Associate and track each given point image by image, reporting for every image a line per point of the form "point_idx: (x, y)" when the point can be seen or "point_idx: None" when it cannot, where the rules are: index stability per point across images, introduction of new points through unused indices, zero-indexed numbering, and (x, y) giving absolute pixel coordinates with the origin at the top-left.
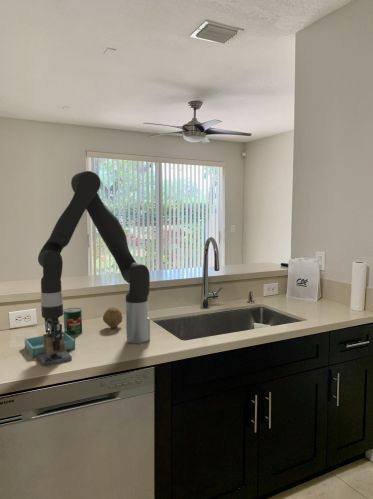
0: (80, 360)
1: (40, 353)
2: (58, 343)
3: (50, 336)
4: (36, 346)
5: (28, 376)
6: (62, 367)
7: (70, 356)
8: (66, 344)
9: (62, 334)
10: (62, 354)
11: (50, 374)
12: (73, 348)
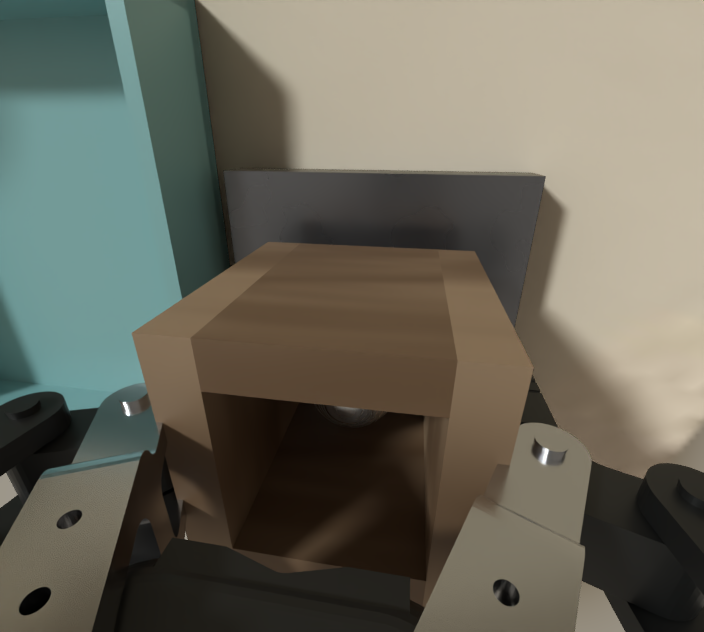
0: (623, 81)
1: None
2: (547, 421)
3: (243, 462)
4: (23, 328)
5: None
6: (634, 315)
7: (541, 192)
8: (166, 113)
9: (418, 365)
10: (406, 244)
11: (686, 434)
12: (194, 21)
